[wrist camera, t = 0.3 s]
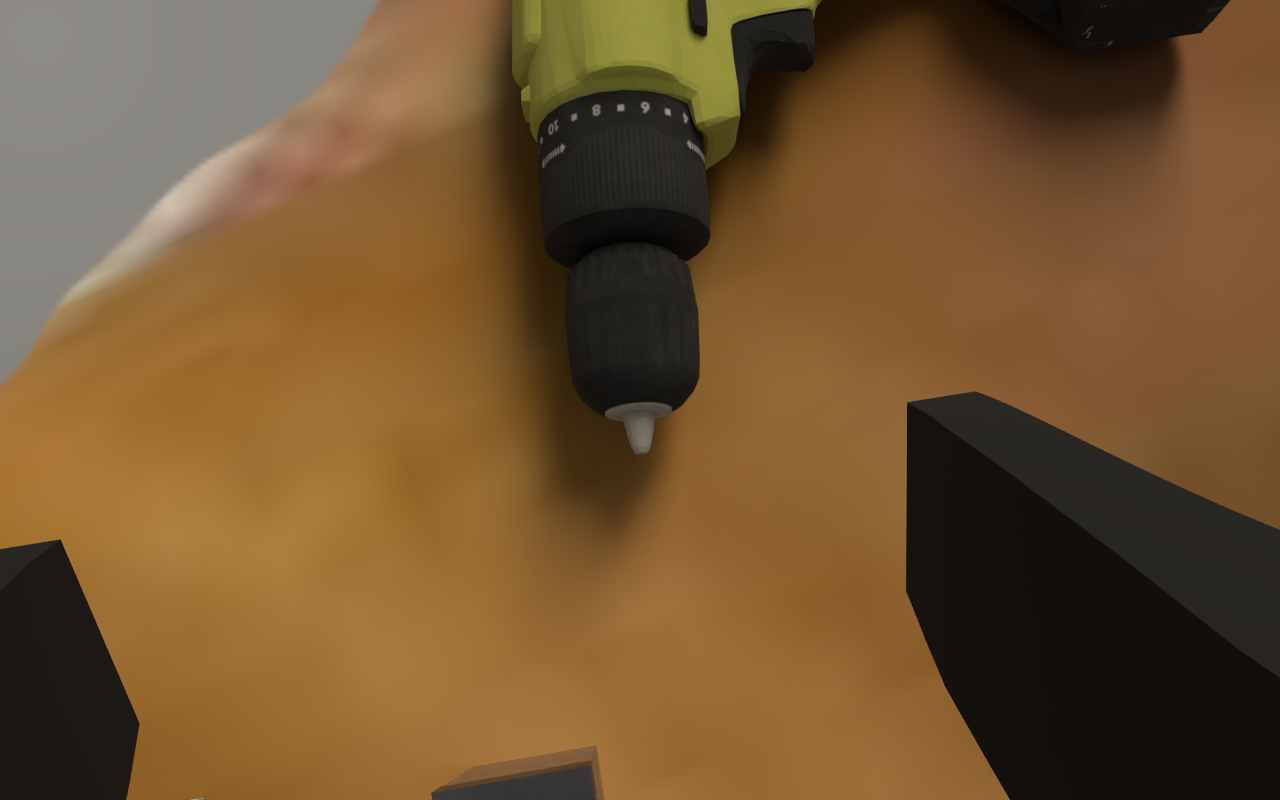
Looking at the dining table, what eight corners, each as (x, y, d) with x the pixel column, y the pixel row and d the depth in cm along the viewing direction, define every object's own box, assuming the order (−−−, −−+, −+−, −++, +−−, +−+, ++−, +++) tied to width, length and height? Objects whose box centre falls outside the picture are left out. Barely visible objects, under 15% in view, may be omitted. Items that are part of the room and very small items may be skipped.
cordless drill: (1265, 434, 39) (538, 482, 38) (1134, -168, 45) (510, -134, 45) (1398, 376, 32) (517, 434, 32) (1222, -322, 39) (488, -284, 38)
